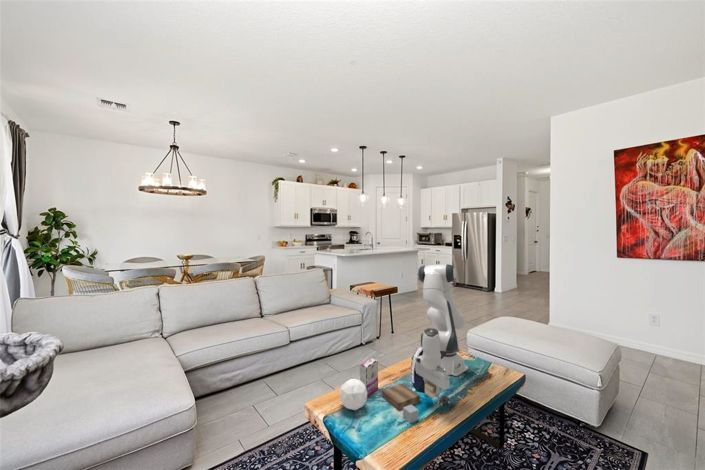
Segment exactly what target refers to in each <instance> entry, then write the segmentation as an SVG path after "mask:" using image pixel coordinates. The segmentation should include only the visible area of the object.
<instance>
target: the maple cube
mask: <svg viewBox="0 0 705 470" xmlns="http://www.w3.org/2000/svg"><path fill="white" fill-rule="evenodd" d="M436 388H437V387H436V385H435V384H433V383H431V382H430V381H428V382H427V383H425V382H424V394H425V395H427V396H428V397H430V398H431V399H434V398H436V397H438V396H440V392H439V393H438V394H436V393H435V391H434V389H436Z"/></svg>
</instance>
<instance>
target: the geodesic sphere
mask: <svg viewBox="0 0 705 470" xmlns="http://www.w3.org/2000/svg"><path fill="white" fill-rule="evenodd" d="M339 397H340V398H339V399H340V402H341V404H342V405H343V406H344V407H345V408H346V409H348V410H352V411H357V410H358V409H360V408H363V407H364V406H365V404H366V402H367V398H368V397H367V390H366V387H365V385H364V384H363V383H362V382H361V381H360V379H355V378H351V379H348V380H347V381H345V382H344V383H343V384H342V385H341V387H340V391H339Z"/></svg>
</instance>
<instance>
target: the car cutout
mask: <svg viewBox="0 0 705 470" xmlns="http://www.w3.org/2000/svg"><path fill="white" fill-rule="evenodd" d="M457 397H458V398H459V399H461V400H463V401H464V399H463V398H462V397H460V396H459V395H457ZM445 404H449V405H451V402H450V397H448V396H447V395H443V396H441V398H440V399H439V400H438V405H439V406H441V407H443V405H445Z"/></svg>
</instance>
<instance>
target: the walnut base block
mask: <svg viewBox="0 0 705 470" xmlns="http://www.w3.org/2000/svg"><path fill="white" fill-rule="evenodd" d="M381 398H383V399H384V400H385V401H386V402H388V404H390V405H391V406H392V407H393V408H395V409H396V410H397V411H401V410H403V407H406V406H408V405H413V406H414V405H417V404H419V403H421V399H420V398H421V396H420V394H418V392H415V391H414V390H413V389H412V388H410V387H408V386H406V385H405V384H404V383H401V384H397V385H394V386H391V387H389V388H385V389H382V390H381Z"/></svg>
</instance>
